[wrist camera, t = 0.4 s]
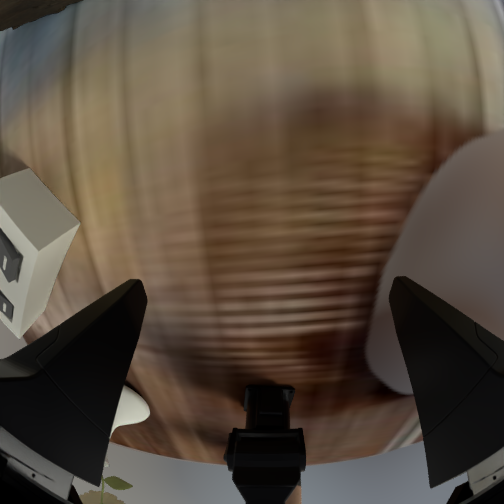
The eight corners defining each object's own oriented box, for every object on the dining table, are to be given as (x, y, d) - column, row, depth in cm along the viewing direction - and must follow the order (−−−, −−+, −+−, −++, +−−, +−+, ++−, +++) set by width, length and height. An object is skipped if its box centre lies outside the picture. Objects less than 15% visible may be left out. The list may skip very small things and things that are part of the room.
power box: (80, 222, 24) (38, 251, 17) (44, 310, 30) (19, 339, 24) (11, 145, 20) (-31, 157, 14) (-12, 244, 26) (-40, 265, 20)
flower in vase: (90, 389, 38) (42, 496, 15) (94, 360, 33) (29, 492, 11) (152, 421, 40) (120, 533, 17) (170, 399, 36) (131, 542, 13)
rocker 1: (19, 257, 18) (11, 260, 17) (15, 279, 19) (7, 283, 18) (-3, 214, 17) (-11, 216, 16) (-7, 237, 19) (-14, 240, 18)
